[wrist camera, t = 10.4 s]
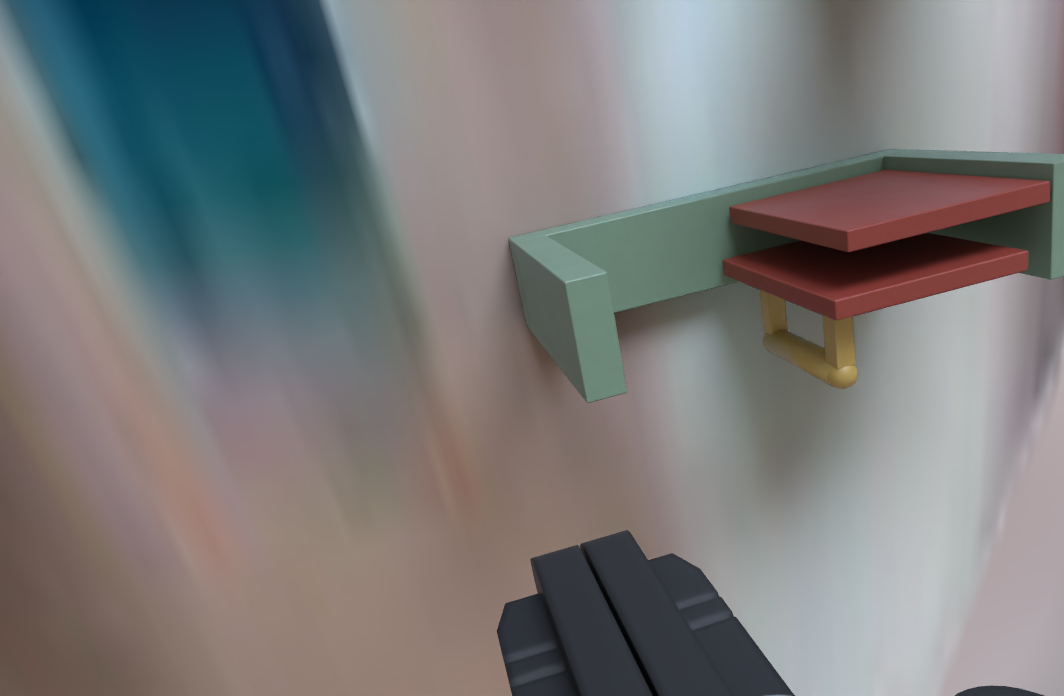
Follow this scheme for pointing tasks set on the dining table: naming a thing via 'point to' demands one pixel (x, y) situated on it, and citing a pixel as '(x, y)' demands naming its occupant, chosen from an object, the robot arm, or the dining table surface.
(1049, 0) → the dining table surface
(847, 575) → the dining table surface
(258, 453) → the dining table surface
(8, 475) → the dining table surface
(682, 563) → the robot arm
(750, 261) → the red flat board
